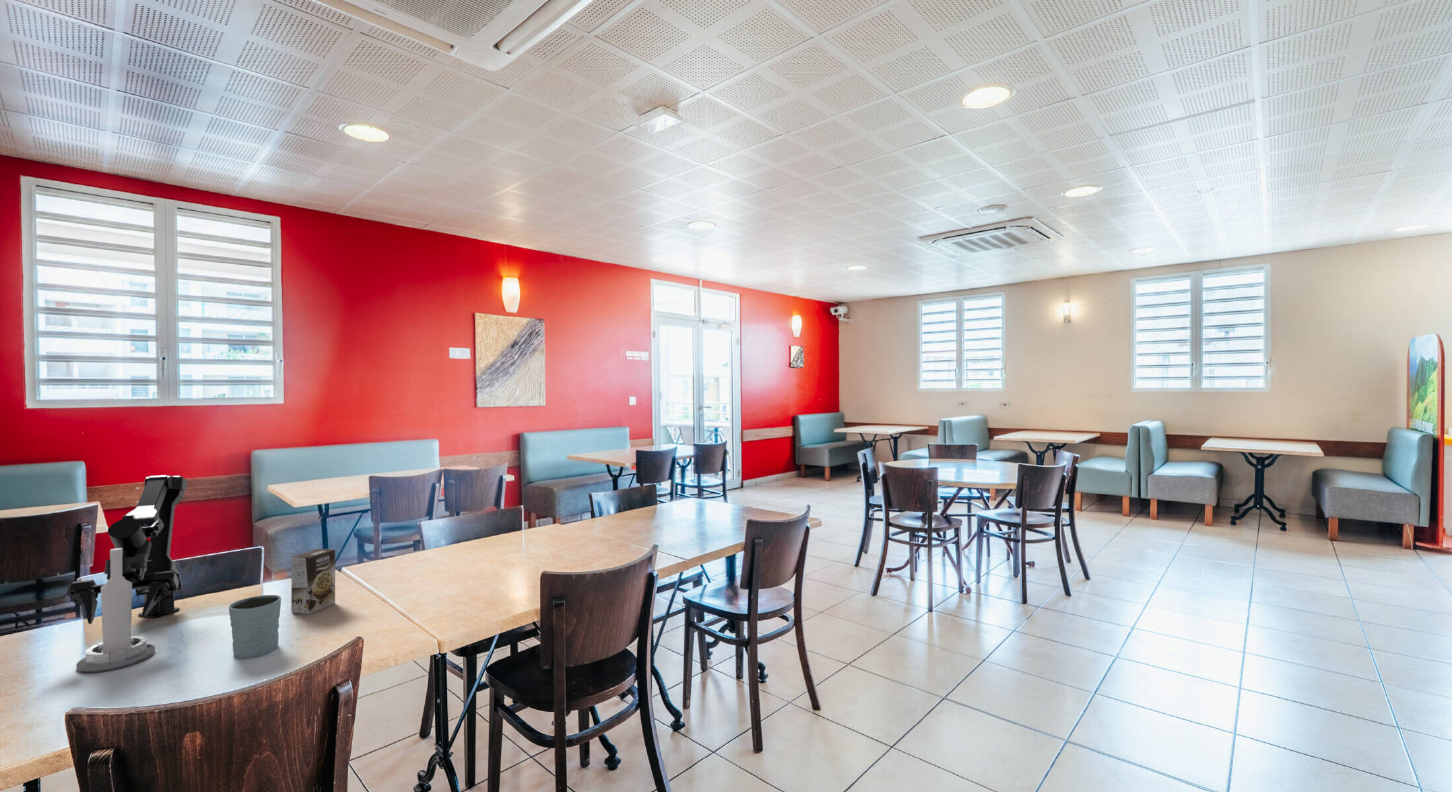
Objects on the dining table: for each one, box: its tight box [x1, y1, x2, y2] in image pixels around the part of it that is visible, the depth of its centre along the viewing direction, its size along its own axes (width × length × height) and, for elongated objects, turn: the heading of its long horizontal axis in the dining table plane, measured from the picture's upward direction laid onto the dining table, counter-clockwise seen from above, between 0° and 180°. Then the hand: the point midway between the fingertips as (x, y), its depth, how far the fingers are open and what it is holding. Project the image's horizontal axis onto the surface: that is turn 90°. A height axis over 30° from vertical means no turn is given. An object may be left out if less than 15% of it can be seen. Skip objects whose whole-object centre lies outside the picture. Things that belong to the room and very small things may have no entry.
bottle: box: [100, 547, 133, 653], centre depth 142 cm, size 5×5×25 cm
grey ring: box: [75, 635, 156, 674], centre depth 142 cm, size 13×13×4 cm
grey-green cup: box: [228, 594, 282, 659], centre depth 148 cm, size 10×10×12 cm
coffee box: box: [290, 548, 336, 615], centre depth 176 cm, size 9×6×16 cm
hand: (117, 619), depth 142 cm, fingers open, 9 cm apart
